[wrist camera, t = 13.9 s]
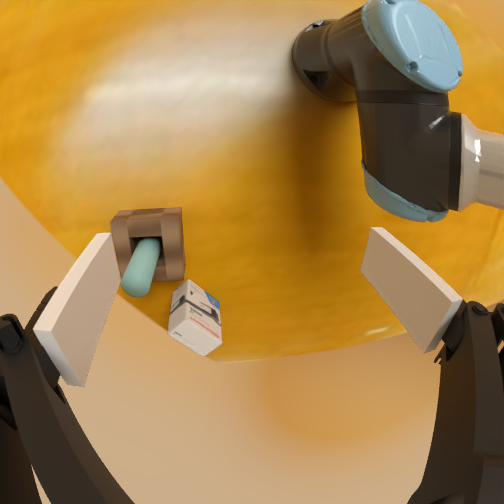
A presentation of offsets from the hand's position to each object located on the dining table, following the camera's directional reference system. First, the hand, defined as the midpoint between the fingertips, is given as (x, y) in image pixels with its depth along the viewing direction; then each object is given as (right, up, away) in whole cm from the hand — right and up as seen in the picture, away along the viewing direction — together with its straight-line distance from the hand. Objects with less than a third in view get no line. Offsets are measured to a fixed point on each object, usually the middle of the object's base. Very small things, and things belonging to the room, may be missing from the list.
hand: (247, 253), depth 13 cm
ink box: (-11, -9, +40) cm, 42 cm away
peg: (-17, +2, +32) cm, 37 cm away
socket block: (-17, +2, +32) cm, 37 cm away
